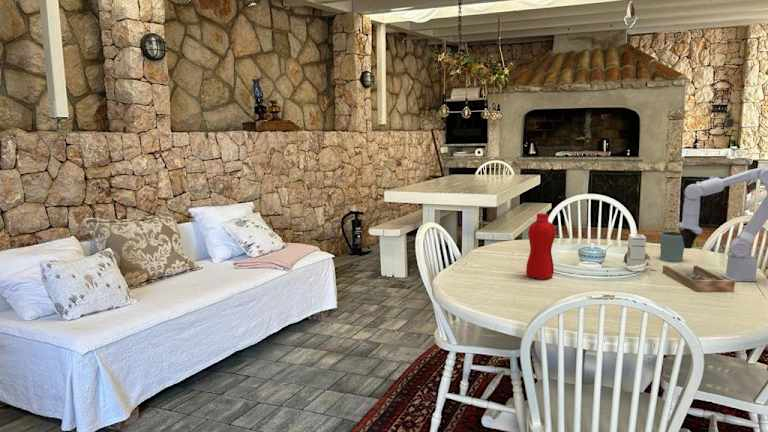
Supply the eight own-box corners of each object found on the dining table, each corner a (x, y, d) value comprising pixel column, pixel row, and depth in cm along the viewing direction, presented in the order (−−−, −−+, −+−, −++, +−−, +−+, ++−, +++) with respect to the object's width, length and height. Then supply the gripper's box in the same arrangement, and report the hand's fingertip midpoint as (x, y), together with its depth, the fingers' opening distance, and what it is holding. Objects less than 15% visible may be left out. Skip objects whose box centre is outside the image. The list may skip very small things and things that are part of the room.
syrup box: (644, 272, 227) (647, 236, 225) (628, 271, 228) (631, 236, 226) (640, 268, 233) (643, 234, 230) (625, 267, 234) (628, 233, 231)
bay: (696, 272, 226) (696, 263, 226) (733, 291, 202) (735, 281, 201) (662, 272, 226) (663, 263, 226) (696, 291, 202) (697, 280, 201)
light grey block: (623, 271, 243) (624, 256, 238) (623, 256, 250) (625, 242, 246) (648, 273, 239) (650, 258, 235) (648, 258, 247) (650, 244, 242)
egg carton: (718, 290, 204) (719, 279, 203) (697, 290, 204) (698, 279, 203) (700, 282, 215) (701, 271, 214) (681, 282, 214) (682, 271, 214)
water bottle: (558, 275, 222) (561, 212, 218) (544, 281, 214) (548, 216, 210) (536, 271, 228) (539, 210, 224) (522, 276, 220) (525, 213, 216)
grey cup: (685, 259, 249) (687, 232, 247) (682, 264, 240) (685, 236, 238) (659, 256, 254) (662, 230, 252) (656, 261, 246) (659, 233, 244)
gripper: (671, 211, 231) (668, 244, 233) (690, 217, 216) (687, 252, 219) (689, 211, 231) (686, 244, 233) (708, 217, 216) (705, 252, 219)
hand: (687, 248), depth 226 cm, fingers closed
